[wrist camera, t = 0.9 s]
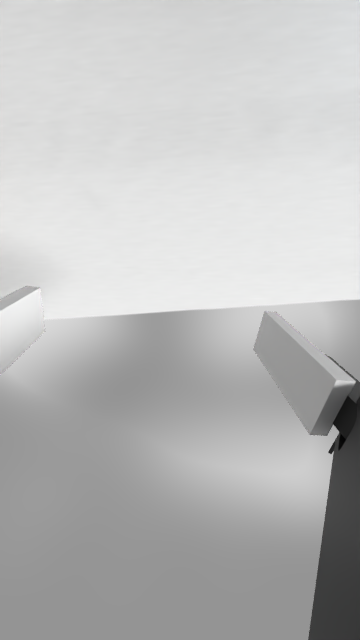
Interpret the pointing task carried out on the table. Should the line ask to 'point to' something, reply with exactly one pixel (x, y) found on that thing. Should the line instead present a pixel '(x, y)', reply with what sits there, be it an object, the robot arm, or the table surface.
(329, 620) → the robot arm
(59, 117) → the table surface
